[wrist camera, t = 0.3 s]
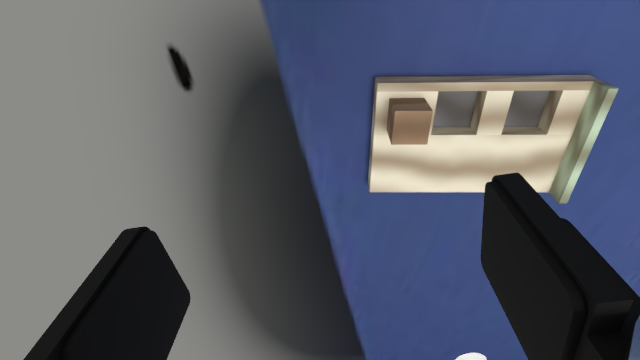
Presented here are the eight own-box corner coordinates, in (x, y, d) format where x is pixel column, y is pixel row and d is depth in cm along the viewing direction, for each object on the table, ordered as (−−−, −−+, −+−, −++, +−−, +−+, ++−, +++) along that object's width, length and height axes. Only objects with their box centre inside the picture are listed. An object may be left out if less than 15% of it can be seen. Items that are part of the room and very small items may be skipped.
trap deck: (375, 76, 42) (380, 90, 38) (589, 74, 41) (618, 88, 37) (367, 182, 50) (371, 203, 46) (546, 182, 49) (566, 203, 45)
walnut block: (389, 98, 41) (394, 111, 37) (424, 97, 41) (432, 110, 37) (386, 129, 43) (391, 144, 39) (419, 129, 43) (427, 144, 39)
